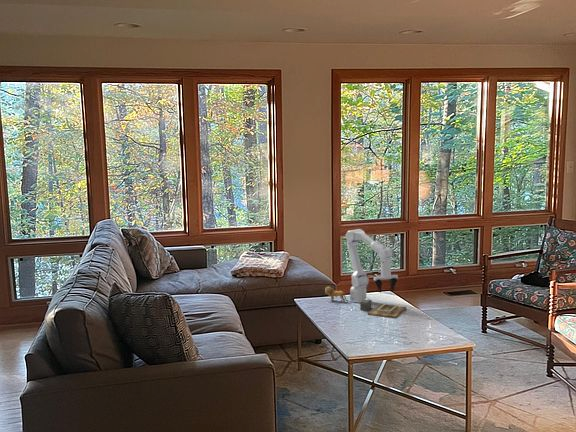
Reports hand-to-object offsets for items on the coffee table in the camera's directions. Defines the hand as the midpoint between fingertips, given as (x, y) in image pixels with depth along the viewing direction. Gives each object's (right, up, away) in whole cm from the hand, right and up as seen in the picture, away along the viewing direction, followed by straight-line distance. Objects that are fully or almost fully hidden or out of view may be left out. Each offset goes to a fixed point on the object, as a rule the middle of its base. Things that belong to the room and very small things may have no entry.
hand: (385, 291), depth 332 cm
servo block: (-12, -10, 0) cm, 16 cm away
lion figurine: (-28, -9, +18) cm, 34 cm away
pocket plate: (0, -11, -7) cm, 12 cm away
